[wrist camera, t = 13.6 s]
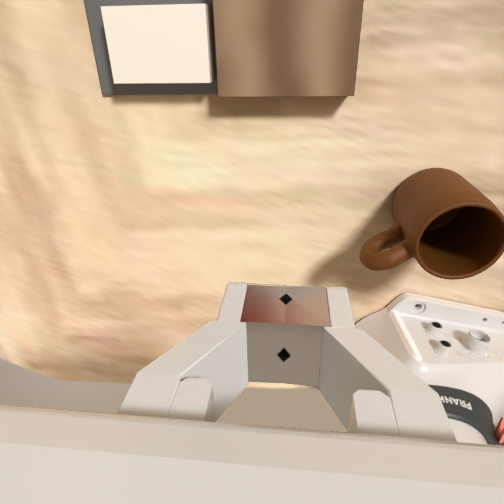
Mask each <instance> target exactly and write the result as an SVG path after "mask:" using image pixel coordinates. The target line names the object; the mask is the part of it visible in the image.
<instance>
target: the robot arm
mask: <svg viewBox="0 0 504 504" xmlns="http://www.w3.org/2000/svg"><path fill="white" fill-rule="evenodd" d="M416 304H420V305H419V306H415V305H416ZM248 382H268V383H287V384H297V385H307V386H318V389H319V390H320V391H321V393H322V394H323V396H324V397H325V399H326V400H327V402H328V403H329V404H330V406H331V407H332V409H333V410H334V412H335V413H336V414H337V416H338V417H339V419H340V420H341V422H342V423H343V425H344V426H345V428H346V429H347V433H344V432H332V431H319V430H307V429H295V428H282V427H270V426H257V425H245V424H232V423H220V422H216V421H217V420H218V418H219V417H220V416H221V415H222V414H223V412H224V411H225V410H226V409H227V408H228V407H229V405H230V404H231V403H232V402H233V401H234V400H235V399H236V397H237V396H238V395H239V394H240V392H242V390H243V389H244V388H245V387H246V386H247V385H248ZM495 426H497V427H495ZM503 440H504V312H501V311H496V310H492V309H487V308H482V307H477V306H472V305H467V304H462V303H458V302H453V301H448V300H443V299H438V298H433V297H429V296H424V295H419V294H414V293H404V294H401V295H400V296H398V297H397V298H396V299H394V300H393V301H392V302H391V303H390V304H389V305H388V306H387V307H386V308H384V309H382V310H380V311H378V312H376V313H374V314H371V315H369V316H367V317H365V318H364V319H362V320H360V321H359V322H358V323H356V324H354V319H353V314H352V309H351V304H350V299H349V294H348V289H347V288H346V287H304V286H287V285H271V284H255V283H249V284H248V283H237V282H229V283H228V284H227V287H226V291H225V294H224V297H223V301H222V304H221V308H220V311H219V315H218V318H217V321H210V322H208V323H207V324H206V325H204V326H203V327H201V328H200V329H198V330H197V331H196V332H194V333H193V334H191V335H190V336H188V337H187V338H186V339H184V340H183V341H181V342H180V343H178V344H177V345H176V346H174V347H173V348H171V349H170V350H168V351H167V352H166V353H164V354H163V355H161V356H160V357H158V358H157V359H156V360H154V361H153V362H151V363H150V364H148V365H147V366H146V367H144V368H143V369H141V370H140V371H139V372H137V374H136V376H135V378H134V380H133V382H132V384H131V387H130V389H129V391H128V393H127V395H126V397H125V399H124V401H123V403H122V405H121V407H120V409H119V411H118V413H117V414H109V413H96V412H84V411H72V410H59V409H47V408H35V407H22V406H10V405H0V504H504V443H503Z"/></svg>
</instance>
